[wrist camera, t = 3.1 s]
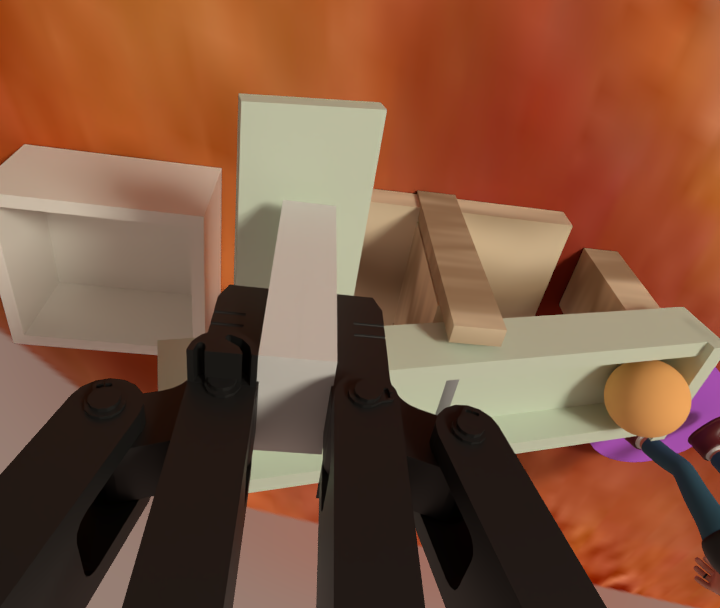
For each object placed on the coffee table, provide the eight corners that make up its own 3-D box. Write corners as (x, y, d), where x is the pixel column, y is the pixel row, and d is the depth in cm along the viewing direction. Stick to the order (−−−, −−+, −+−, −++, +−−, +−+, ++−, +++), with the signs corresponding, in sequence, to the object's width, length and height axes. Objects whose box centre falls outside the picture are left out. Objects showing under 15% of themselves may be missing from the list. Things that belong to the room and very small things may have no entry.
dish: (24, 144, 27) (-29, 190, 23) (221, 168, 28) (203, 216, 24) (53, 284, 32) (13, 343, 28) (220, 300, 33) (205, 359, 29)
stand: (300, 176, 29) (287, 309, 20) (634, 217, 31) (754, 353, 22) (288, 308, 34) (273, 462, 25) (576, 335, 36) (656, 485, 27)
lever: (137, 84, 15) (135, 127, 12) (790, 126, 22) (861, 158, 19) (166, 451, 23) (167, 514, 21) (627, 395, 30) (664, 439, 28)
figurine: (736, 399, 40) (962, 693, 26) (613, 458, 44) (752, 747, 29) (685, 322, 36) (924, 626, 21) (553, 395, 39) (681, 698, 25)
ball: (606, 345, 25) (659, 403, 23) (668, 339, 26) (725, 394, 24) (577, 400, 27) (622, 459, 25) (636, 392, 28) (684, 448, 26)
